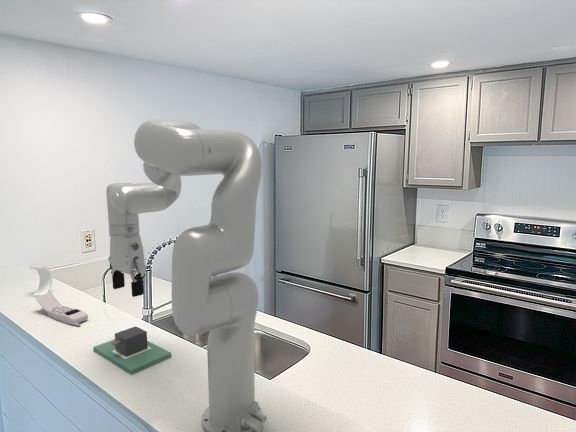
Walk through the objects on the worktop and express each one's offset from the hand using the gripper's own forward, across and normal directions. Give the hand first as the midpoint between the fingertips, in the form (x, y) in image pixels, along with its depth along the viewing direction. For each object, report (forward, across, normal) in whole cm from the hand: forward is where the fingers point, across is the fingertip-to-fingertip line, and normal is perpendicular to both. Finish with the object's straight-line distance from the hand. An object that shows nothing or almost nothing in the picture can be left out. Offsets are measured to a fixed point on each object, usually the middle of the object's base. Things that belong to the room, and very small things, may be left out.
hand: (128, 291), depth 115 cm
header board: (+18, 0, 0) cm, 18 cm away
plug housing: (+17, 0, 0) cm, 17 cm away
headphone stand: (+18, +72, -4) cm, 75 cm away
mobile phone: (+18, +43, +1) cm, 46 cm away
